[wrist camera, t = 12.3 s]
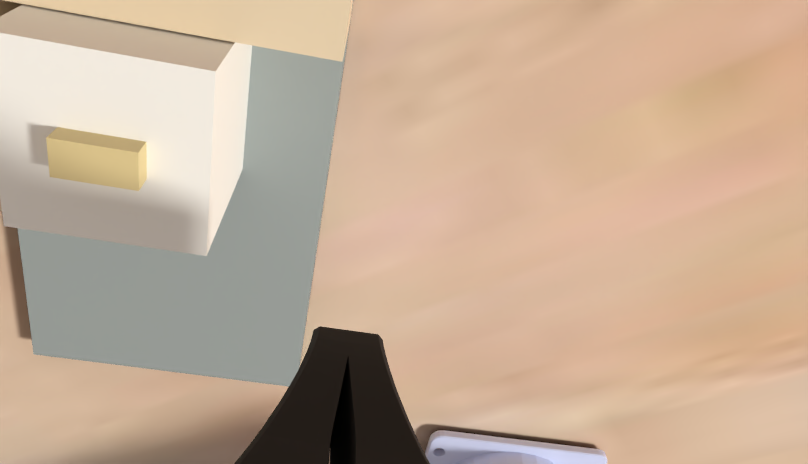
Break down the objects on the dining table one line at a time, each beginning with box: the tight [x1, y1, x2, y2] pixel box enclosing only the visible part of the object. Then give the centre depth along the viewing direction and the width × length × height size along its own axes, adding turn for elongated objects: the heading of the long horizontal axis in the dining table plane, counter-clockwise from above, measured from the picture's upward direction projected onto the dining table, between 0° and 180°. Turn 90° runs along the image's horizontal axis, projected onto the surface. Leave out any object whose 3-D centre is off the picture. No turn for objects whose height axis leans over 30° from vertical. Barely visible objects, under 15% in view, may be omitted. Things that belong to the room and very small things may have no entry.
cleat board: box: [0, 0, 354, 386], centre depth 21 cm, size 16×10×4 cm, turn 169°
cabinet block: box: [0, 4, 252, 256], centre depth 18 cm, size 5×5×6 cm
